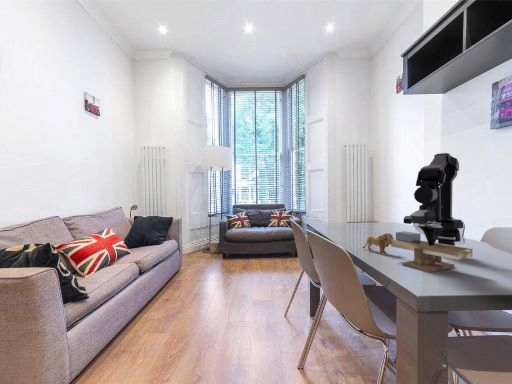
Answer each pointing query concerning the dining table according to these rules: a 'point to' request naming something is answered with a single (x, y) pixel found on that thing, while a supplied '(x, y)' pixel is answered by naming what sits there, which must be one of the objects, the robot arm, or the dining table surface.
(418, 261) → the stand
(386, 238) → the lion figurine
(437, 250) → the beam
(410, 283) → the dining table surface
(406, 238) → the block
